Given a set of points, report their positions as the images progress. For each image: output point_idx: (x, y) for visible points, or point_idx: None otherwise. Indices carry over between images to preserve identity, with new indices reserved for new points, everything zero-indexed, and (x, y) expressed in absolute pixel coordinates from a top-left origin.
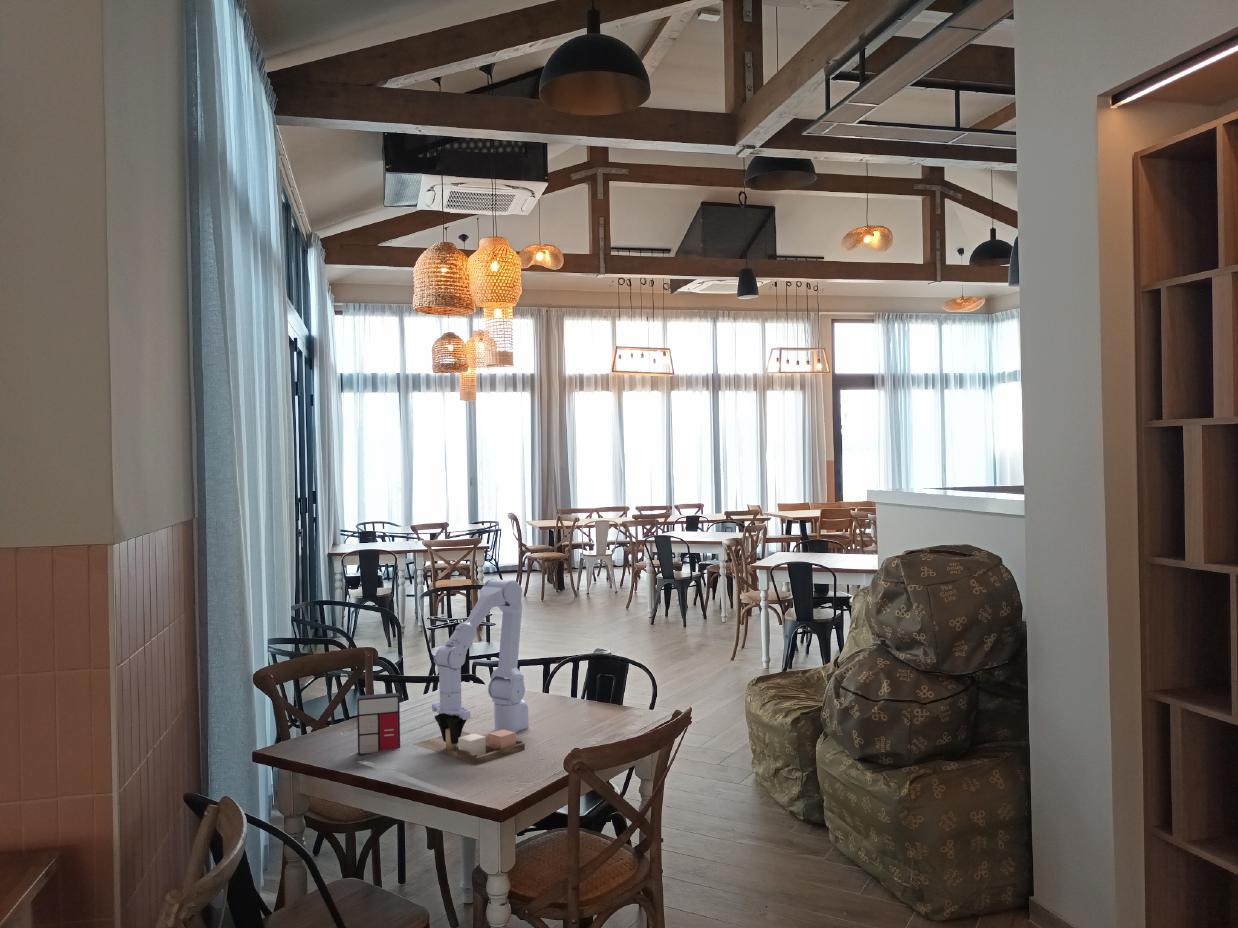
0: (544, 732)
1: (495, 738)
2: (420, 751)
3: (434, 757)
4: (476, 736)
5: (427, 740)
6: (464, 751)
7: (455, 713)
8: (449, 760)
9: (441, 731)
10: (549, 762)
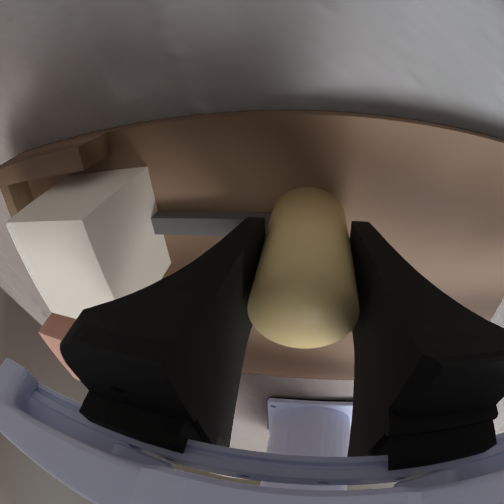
0: (237, 431)
1: (68, 329)
2: (473, 112)
3: (296, 71)
4: (66, 296)
5: None
6: (44, 167)
7: (33, 427)
8: (167, 105)
9: (394, 257)
10: (23, 303)
